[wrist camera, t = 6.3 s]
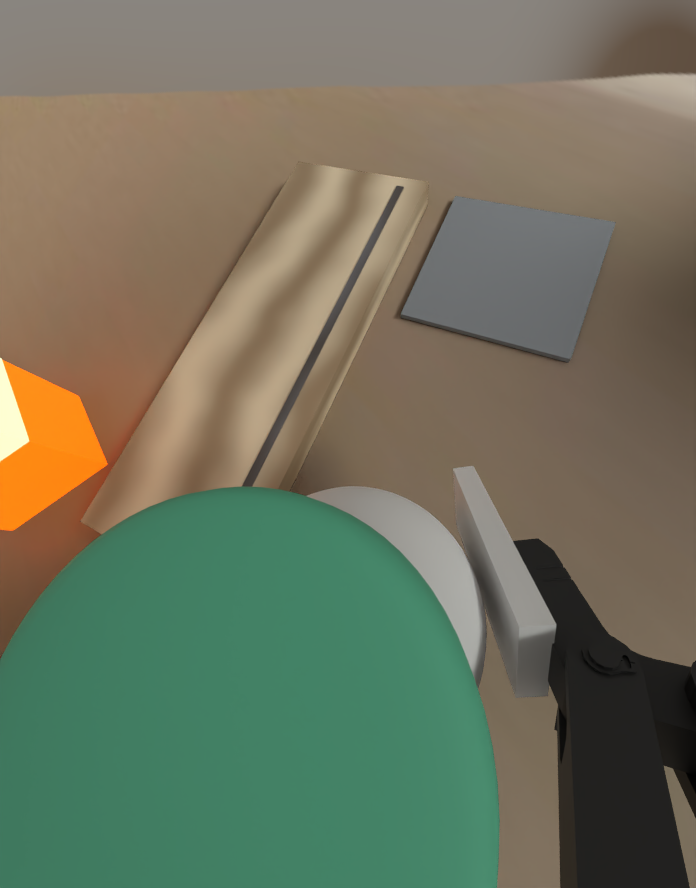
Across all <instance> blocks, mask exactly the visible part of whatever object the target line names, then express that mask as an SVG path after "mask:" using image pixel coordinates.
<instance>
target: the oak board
mask: <svg viewBox="0 0 696 888" xmlns="http://www.w3.org/2000/svg"><path fill="white" fill-rule="evenodd" d="M428 188H429V182H426V181H420V180H413V179H407V178H400V177H394V176H388V175H381V174H375V173H368V172H362V171H355V170H349V169H342V168H336V167H330V166H323V165H317V164H310V163H304V162H298V163H297V165H296V167H295V168H294V170H293V171H292V173H291V175H290V176H289V178H288V180H287V181H286V183H285V185H284V186H283V188H282V190H281V191H280V193H279V195H278V196H277V198H276V199H275V201H274V203H273V204H272V206H271V208H270V209H269V211H268V213H267V214H266V216H265V218H264V219H263V221H262V223H261V224H260V226H259V227H258V229H257V231H256V232H255V234H254V236H253V237H252V239H251V241H250V242H249V244H248V246H247V247H246V249H245V251H244V252H243V254H242V255H241V257H240V259H239V260H238V262H237V264H236V265H235V267H234V269H233V270H232V272H231V274H230V275H229V277H228V279H227V280H226V282H225V284H224V285H223V287H222V288H221V290H220V292H219V293H218V295H217V297H216V298H215V300H214V302H213V303H212V305H211V307H210V308H209V310H208V312H207V313H206V315H205V316H204V318H203V320H202V321H201V323H200V325H199V326H198V328H197V330H196V331H195V333H194V335H193V336H192V338H191V340H190V341H189V343H188V344H187V346H186V348H185V349H184V351H183V353H182V354H181V356H180V358H179V359H178V361H177V363H176V364H175V366H174V368H173V369H172V371H171V372H170V374H169V376H168V377H167V379H166V381H165V382H164V384H163V386H162V387H161V389H160V391H159V392H158V394H157V396H156V397H155V399H154V400H153V402H152V404H151V405H150V407H149V409H148V410H147V412H146V414H145V415H144V417H143V419H142V420H141V422H140V424H139V425H138V427H137V428H136V430H135V432H134V433H133V435H132V437H131V438H130V440H129V442H128V443H127V445H126V447H125V448H124V450H123V452H122V453H121V455H120V456H119V458H118V460H117V461H116V463H115V465H114V466H113V468H112V470H111V471H110V473H109V475H108V476H107V478H106V480H105V481H104V483H103V484H102V486H101V488H100V489H99V491H98V493H97V494H96V496H95V498H94V499H93V501H92V503H91V504H90V506H89V508H88V509H87V511H86V512H85V514H84V516H83V517H82V519H81V521H80V522H82V523H83V524H85V525H87V526H88V527H90V528H92V529H93V530H95V531H97V532H98V533H100V534H103V533H105V532H106V531H107V530H109V529H110V528H112V527H113V526H115V525H116V524H118V523H120V522H121V521H123V520H125V519H126V518H128V517H129V516H131V515H133V514H135V513H137V512H139V511H141V510H143V509H145V508H147V507H150V506H152V505H155V504H158V503H160V502H163V501H165V500H168V499H171V498H175V497H178V496H182V495H185V494H189V493H195V492H201V491H206V490H212V489H218V488H227V487H240V486H244V487H265V488H273V489H280V490H285V491H289V492H290V490H291V488H292V485H293V483H294V481H295V479H296V477H297V475H298V473H299V471H300V469H301V467H302V465H303V463H304V461H305V459H306V456H307V454H308V452H309V450H310V448H311V446H312V444H313V442H314V440H315V438H316V436H317V434H318V432H319V430H320V427H321V425H322V423H323V421H324V419H325V417H326V415H327V413H328V411H329V409H330V407H331V405H332V403H333V401H334V398H335V396H336V394H337V392H338V390H339V388H340V386H341V384H342V382H343V380H344V378H345V376H346V374H347V372H348V369H349V367H350V365H351V363H352V361H353V359H354V357H355V355H356V353H357V351H358V349H359V347H360V345H361V343H362V340H363V338H364V336H365V334H366V332H367V330H368V328H369V326H370V324H371V322H372V320H373V318H374V316H375V314H376V311H377V309H378V307H379V305H380V303H381V301H382V299H383V297H384V295H385V293H386V291H387V289H388V287H389V285H390V282H391V280H392V278H393V276H394V274H395V272H396V270H397V268H398V266H399V264H400V262H401V260H402V258H403V256H404V253H405V251H406V249H407V247H408V245H409V243H410V241H411V239H412V237H413V235H414V233H415V231H416V229H417V227H418V224H419V222H420V220H421V218H422V216H423V214H424V212H425V210H426V208H427V206H428Z"/></svg>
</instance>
